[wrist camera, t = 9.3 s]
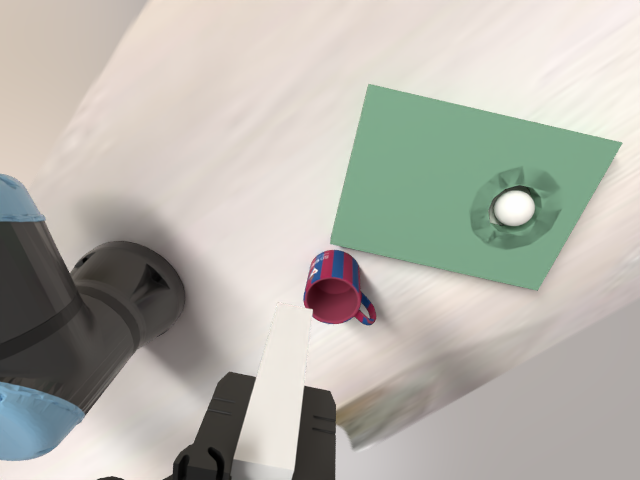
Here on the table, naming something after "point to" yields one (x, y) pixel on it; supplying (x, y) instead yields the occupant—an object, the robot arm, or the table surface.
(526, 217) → the ball
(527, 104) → the table surface
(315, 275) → the mug
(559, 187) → the green
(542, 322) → the table surface
